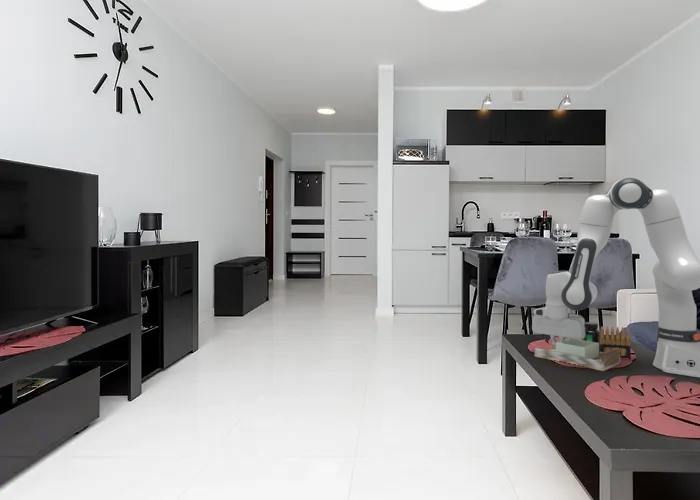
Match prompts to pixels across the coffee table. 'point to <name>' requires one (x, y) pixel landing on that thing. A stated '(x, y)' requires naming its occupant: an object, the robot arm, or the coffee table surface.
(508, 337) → the coffee table surface
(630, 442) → the coffee table surface
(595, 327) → the supplement bottle
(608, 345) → the ammunition clip
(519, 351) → the coffee table surface
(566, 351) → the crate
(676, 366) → the robot arm
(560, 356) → the striped flat box
